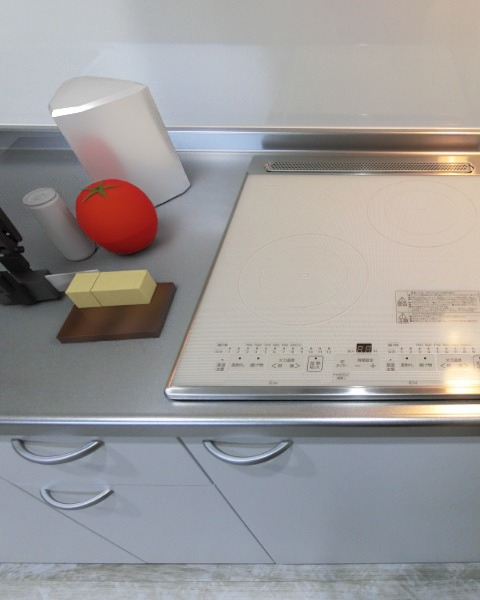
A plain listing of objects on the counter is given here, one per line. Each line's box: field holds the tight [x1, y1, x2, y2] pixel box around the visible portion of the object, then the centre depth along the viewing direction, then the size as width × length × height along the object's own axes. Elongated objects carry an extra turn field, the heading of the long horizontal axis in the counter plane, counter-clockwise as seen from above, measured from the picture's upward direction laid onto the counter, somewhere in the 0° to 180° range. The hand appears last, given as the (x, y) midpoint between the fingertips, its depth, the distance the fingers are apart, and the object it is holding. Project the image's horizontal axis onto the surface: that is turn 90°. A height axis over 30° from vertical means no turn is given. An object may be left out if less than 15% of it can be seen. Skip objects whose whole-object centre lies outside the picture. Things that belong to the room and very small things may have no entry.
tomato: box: [74, 179, 159, 255], centre depth 73 cm, size 11×11×13 cm
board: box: [55, 281, 177, 344], centre depth 67 cm, size 14×10×2 cm
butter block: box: [91, 269, 157, 306], centre depth 67 cm, size 7×4×4 cm, turn 94°
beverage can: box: [21, 187, 96, 262], centre depth 72 cm, size 5×5×12 cm
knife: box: [0, 268, 102, 306], centre depth 68 cm, size 17×3×4 cm, turn 96°
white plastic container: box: [47, 75, 191, 207], centre depth 79 cm, size 15×14×22 cm
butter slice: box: [64, 271, 102, 308], centre depth 66 cm, size 4×4×4 cm
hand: (30, 294), depth 69 cm, fingers closed on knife, 3 cm apart
